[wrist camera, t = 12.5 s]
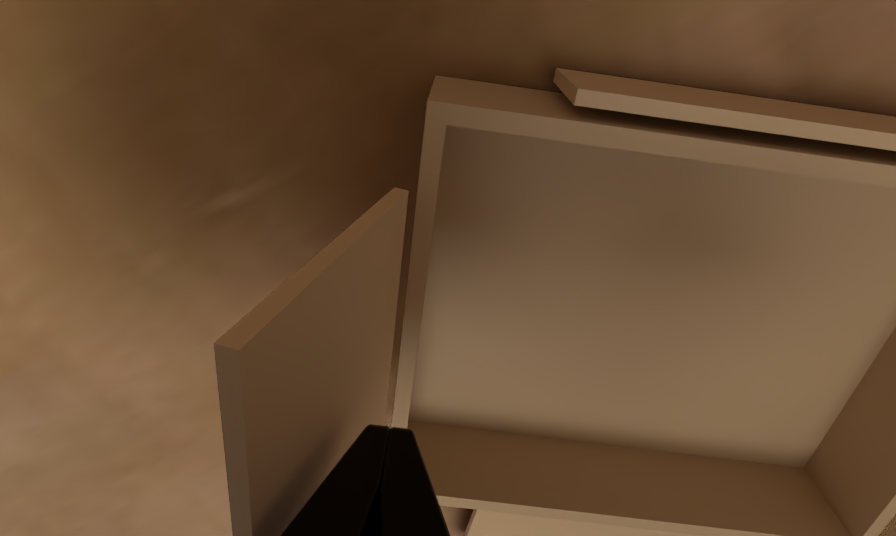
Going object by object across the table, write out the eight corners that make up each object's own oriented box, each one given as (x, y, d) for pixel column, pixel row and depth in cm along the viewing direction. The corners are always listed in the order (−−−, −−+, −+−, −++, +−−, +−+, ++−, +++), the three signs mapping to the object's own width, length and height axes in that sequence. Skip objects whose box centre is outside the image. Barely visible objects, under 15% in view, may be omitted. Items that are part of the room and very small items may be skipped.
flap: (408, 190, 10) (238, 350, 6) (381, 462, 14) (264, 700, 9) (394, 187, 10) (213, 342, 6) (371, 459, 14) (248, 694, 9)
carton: (1046, 137, 13) (1200, 178, 10) (820, 472, 18) (881, 556, 15) (438, 50, 12) (430, 68, 9) (396, 421, 18) (383, 498, 15)
